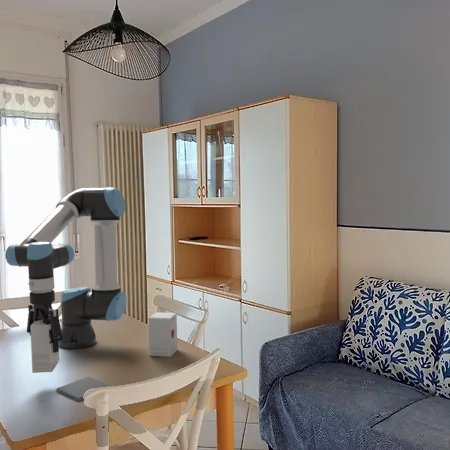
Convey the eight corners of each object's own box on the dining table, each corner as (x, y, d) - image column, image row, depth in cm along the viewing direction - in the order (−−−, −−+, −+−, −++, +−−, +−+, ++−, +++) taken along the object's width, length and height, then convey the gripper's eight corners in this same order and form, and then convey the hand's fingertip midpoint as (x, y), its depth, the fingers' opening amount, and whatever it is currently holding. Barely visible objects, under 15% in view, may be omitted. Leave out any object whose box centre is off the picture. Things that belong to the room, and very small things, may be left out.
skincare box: (39, 363, 160) (37, 317, 159) (59, 362, 161) (57, 317, 159) (31, 373, 152) (28, 325, 151) (53, 372, 152) (50, 324, 151)
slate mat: (56, 391, 153) (56, 388, 153) (88, 379, 162) (88, 376, 162) (78, 401, 145) (78, 398, 145) (111, 388, 154) (110, 385, 154)
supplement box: (171, 357, 182) (170, 318, 181) (148, 356, 184) (147, 317, 183) (178, 349, 191) (177, 312, 190) (156, 348, 193) (155, 311, 192)
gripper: (12, 288, 158) (16, 354, 160) (50, 297, 144) (54, 369, 146) (34, 284, 164) (37, 348, 166) (72, 292, 150) (76, 362, 152)
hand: (45, 358), depth 156 cm, fingers closed on skincare box, 10 cm apart
